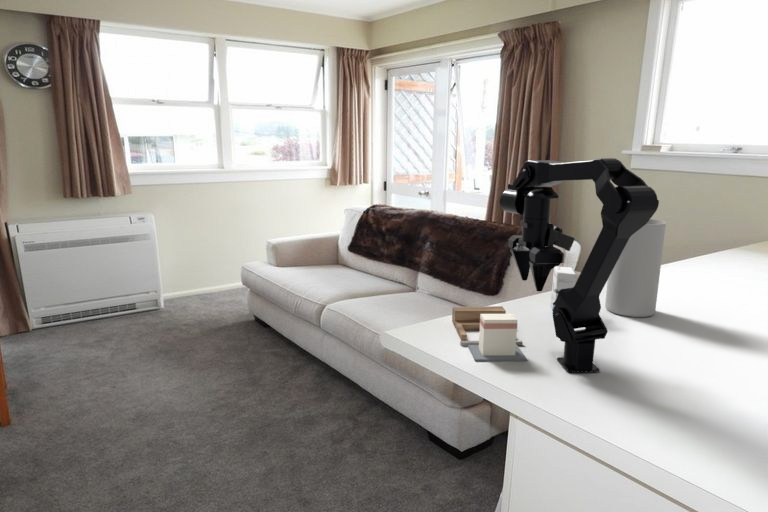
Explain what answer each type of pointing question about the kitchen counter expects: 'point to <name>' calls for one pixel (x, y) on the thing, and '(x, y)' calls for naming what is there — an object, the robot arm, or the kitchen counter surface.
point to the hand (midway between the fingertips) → (531, 285)
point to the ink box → (562, 281)
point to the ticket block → (497, 334)
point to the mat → (479, 357)
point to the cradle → (472, 320)
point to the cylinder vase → (637, 273)
